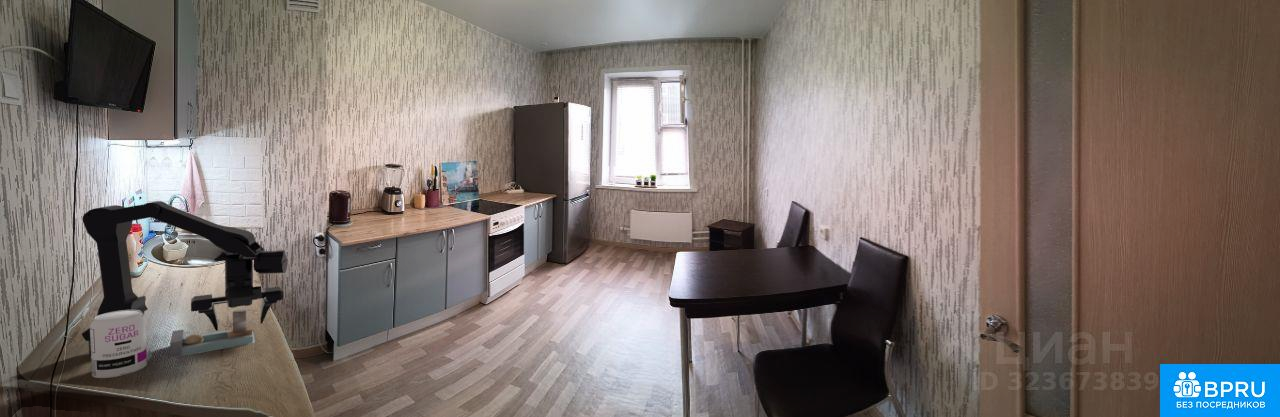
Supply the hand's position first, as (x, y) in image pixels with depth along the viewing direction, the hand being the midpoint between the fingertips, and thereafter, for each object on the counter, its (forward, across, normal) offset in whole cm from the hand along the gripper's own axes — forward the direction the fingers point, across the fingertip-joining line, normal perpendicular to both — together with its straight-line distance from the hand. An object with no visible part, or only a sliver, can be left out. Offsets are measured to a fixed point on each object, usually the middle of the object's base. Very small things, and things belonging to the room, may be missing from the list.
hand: (239, 326), depth 117 cm
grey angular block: (+4, -12, 0) cm, 13 cm away
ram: (+4, 0, 0) cm, 4 cm away
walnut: (+4, -9, 0) cm, 10 cm away
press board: (+5, -5, 0) cm, 7 cm away
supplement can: (+5, -21, -6) cm, 22 cm away
